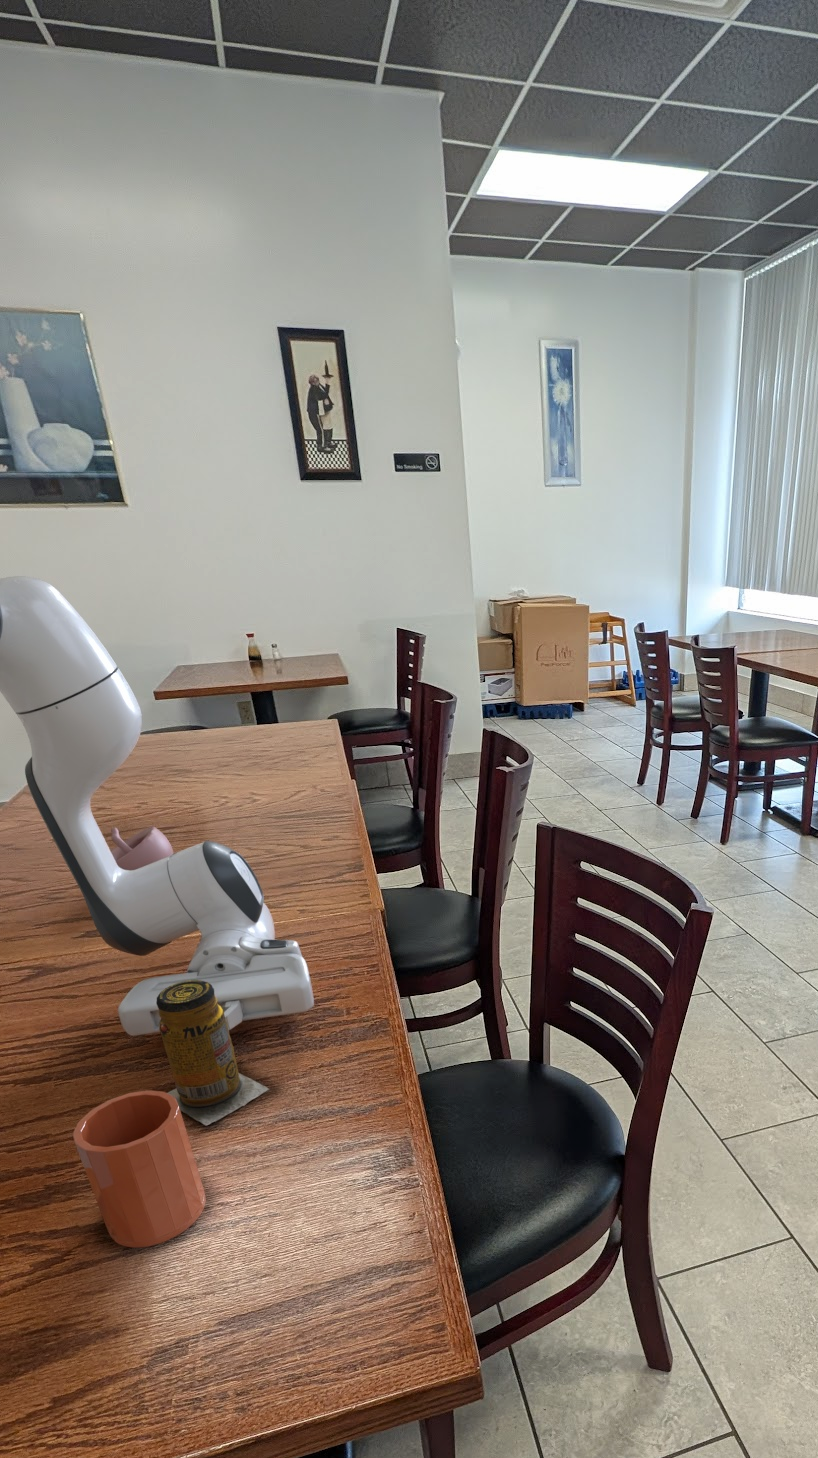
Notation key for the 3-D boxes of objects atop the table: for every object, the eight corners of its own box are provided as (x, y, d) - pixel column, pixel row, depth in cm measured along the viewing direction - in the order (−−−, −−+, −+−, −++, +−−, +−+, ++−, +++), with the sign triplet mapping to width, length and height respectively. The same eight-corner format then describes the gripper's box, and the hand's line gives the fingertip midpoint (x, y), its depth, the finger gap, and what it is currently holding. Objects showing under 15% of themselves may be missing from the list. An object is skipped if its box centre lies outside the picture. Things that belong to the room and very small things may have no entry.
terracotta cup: (97, 1255, 66) (59, 1158, 61) (122, 1190, 73) (89, 1098, 68) (197, 1237, 67) (167, 1141, 63) (212, 1175, 74) (186, 1084, 70)
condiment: (222, 1064, 90) (196, 968, 84) (269, 1090, 85) (246, 990, 80) (159, 1099, 84) (128, 998, 79) (207, 1128, 80) (177, 1024, 75)
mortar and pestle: (108, 885, 140) (88, 820, 135) (183, 874, 143) (167, 810, 138) (98, 911, 129) (76, 842, 124) (179, 899, 133) (162, 831, 128)
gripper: (128, 961, 95) (94, 1022, 83) (310, 938, 98) (303, 994, 86) (142, 1008, 98) (111, 1074, 85) (319, 984, 101) (313, 1044, 89)
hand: (210, 1033), depth 86 cm, fingers closed
